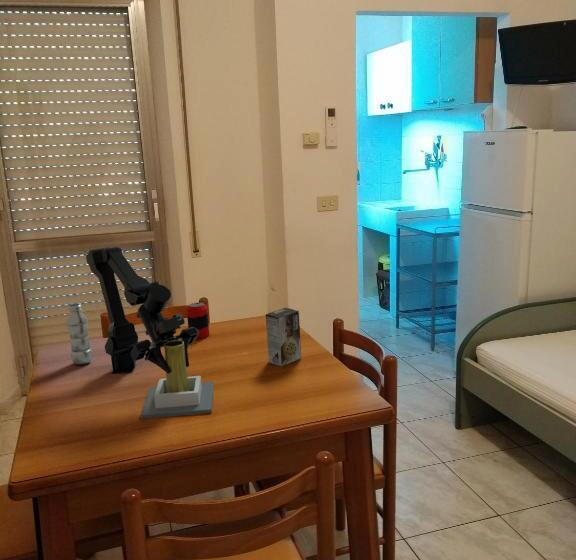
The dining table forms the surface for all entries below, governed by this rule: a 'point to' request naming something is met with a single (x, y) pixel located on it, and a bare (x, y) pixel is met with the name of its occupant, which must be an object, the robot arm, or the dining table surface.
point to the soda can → (198, 319)
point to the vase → (176, 367)
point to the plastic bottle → (78, 335)
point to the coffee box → (283, 336)
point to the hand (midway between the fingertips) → (178, 369)
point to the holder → (179, 400)
